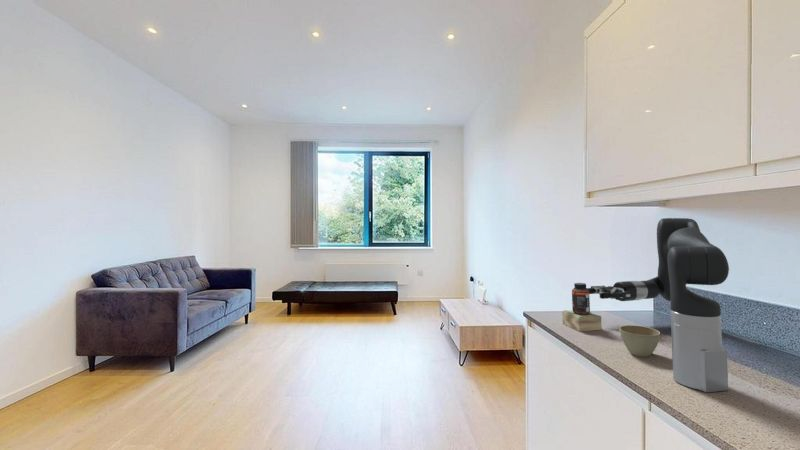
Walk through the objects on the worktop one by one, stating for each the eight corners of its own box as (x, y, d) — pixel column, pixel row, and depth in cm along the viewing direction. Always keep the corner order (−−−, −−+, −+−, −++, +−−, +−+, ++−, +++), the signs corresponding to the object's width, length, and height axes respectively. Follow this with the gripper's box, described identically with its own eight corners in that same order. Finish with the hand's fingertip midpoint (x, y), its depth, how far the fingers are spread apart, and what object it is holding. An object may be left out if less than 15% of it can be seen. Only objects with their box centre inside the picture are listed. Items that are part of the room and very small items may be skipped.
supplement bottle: (593, 314, 126) (592, 284, 126) (577, 315, 126) (576, 285, 126) (585, 310, 132) (583, 281, 132) (569, 311, 132) (568, 282, 132)
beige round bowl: (612, 349, 105) (611, 326, 105) (638, 346, 107) (638, 323, 107) (641, 362, 95) (640, 336, 95) (669, 358, 97) (669, 333, 97)
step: (601, 329, 125) (601, 315, 125) (579, 331, 123) (578, 317, 124) (583, 322, 135) (583, 309, 135) (562, 323, 133) (562, 310, 134)
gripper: (615, 278, 139) (579, 280, 137) (645, 284, 125) (605, 287, 123) (616, 296, 139) (580, 299, 137) (646, 304, 125) (606, 307, 123)
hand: (592, 293), depth 130 cm, fingers open, 8 cm apart
